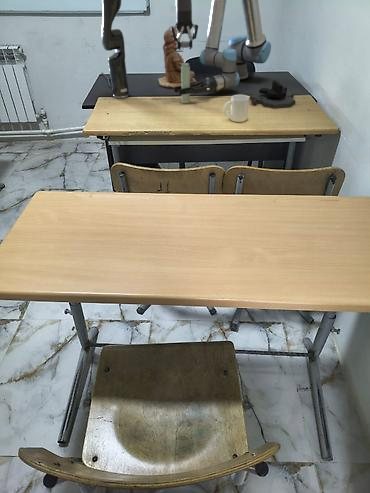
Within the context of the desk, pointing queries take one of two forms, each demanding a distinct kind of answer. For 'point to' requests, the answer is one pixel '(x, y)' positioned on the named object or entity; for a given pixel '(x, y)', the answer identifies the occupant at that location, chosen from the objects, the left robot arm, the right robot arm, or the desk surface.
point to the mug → (238, 108)
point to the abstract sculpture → (273, 96)
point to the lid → (184, 44)
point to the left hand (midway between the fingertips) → (184, 49)
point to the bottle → (185, 81)
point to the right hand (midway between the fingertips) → (176, 91)
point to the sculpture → (172, 62)
